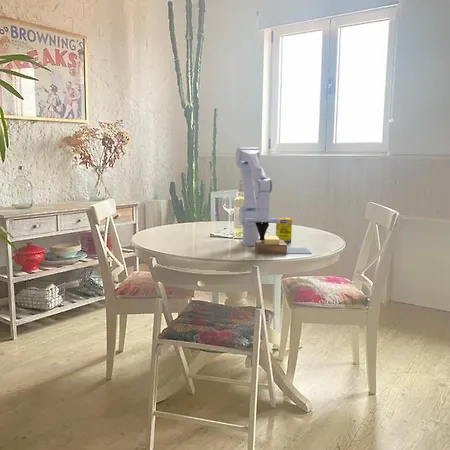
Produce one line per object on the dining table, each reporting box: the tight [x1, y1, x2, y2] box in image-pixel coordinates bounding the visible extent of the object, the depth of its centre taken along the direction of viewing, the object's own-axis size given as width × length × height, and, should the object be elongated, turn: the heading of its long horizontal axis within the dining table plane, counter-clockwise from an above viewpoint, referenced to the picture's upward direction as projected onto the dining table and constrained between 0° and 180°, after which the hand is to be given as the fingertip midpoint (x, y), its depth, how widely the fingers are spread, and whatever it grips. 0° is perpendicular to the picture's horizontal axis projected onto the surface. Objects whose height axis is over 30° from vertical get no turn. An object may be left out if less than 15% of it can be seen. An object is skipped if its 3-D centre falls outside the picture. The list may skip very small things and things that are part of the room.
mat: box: [286, 247, 312, 255], centre depth 206 cm, size 11×10×1 cm
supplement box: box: [275, 217, 293, 244], centre depth 225 cm, size 6×6×11 cm
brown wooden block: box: [254, 239, 288, 256], centre depth 204 cm, size 11×12×4 cm
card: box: [264, 235, 280, 244], centre depth 204 cm, size 8×6×2 cm
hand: (261, 240), depth 203 cm, fingers closed
